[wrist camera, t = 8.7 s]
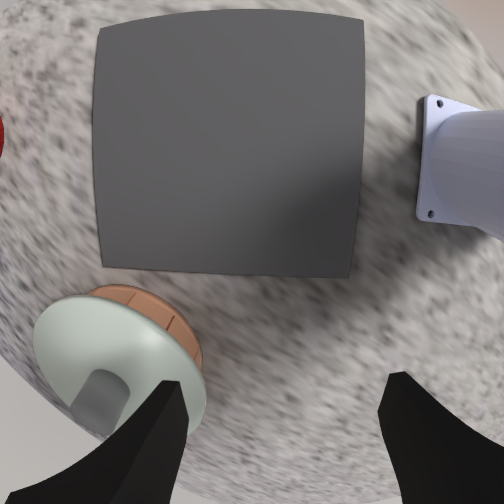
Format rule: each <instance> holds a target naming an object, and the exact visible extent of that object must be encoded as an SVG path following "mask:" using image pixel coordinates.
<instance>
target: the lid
mask: <svg viewBox="0 0 504 504" xmlns="http://www.w3.org/2000/svg"><path fill="white" fill-rule="evenodd" d="M33 348H34V353H35V357H36V360H37V363H38V365H39V368H40V370H41V372H42V374H43V376H44V377H45V379H46V381H47V382H48V384H49V385H50V387H51V388H52V389H53V391H54V392H55V393H56V394H57V395H58V397H59V398H60V399H61V400H62V401H63V402H64V403H65V404H66V405H67V406H68V407H69V408H70V411H71V413H72V415H73V416H74V418H75V419H76V420H77V421H78V422H79V423H80V424H81V425H83V426H84V427H85V428H87V429H89V430H90V431H93V432H95V433H98V434H101V435H110V434H113V433H114V432H115V431H116V430H117V429H118V428H119V427H120V426H121V425H122V424H123V423H124V422H125V421H126V420H127V419H128V418H129V417H130V416H131V415H132V414H133V413H134V412H135V411H136V410H137V409H138V407H139V406H140V405H141V404H142V403H143V402H144V401H145V400H146V398H147V397H148V396H149V395H150V394H151V393H152V391H153V390H154V389H155V388H156V387H157V385H158V384H159V383H160V382H161V381H162V380H170V381H180V385H181V389H182V393H183V397H184V401H185V404H186V408H187V412H188V416H189V425H188V432H187V436H188V435H189V434H191V433H192V432H193V431H194V430H195V429H196V428H197V427H198V426H199V424H200V423H201V421H202V418H203V416H204V412H205V407H206V401H207V393H206V386H205V382H204V379H203V377H202V374H201V372H200V370H199V368H198V366H197V365H196V363H195V361H194V359H193V358H192V357H191V356H190V354H189V353H188V352H187V350H186V349H185V348H184V347H183V346H182V345H181V344H180V343H179V341H178V340H177V339H176V338H175V337H173V336H172V335H171V334H170V333H169V332H168V331H167V330H166V329H164V328H163V327H162V326H160V325H159V324H158V323H156V322H155V321H154V320H152V319H151V318H149V317H147V316H146V315H144V314H142V313H141V312H139V311H137V310H135V309H133V308H131V307H129V306H127V305H125V304H122V303H120V302H117V301H115V300H112V299H108V298H104V297H101V296H94V295H72V296H67V297H64V298H61V299H59V300H57V301H55V302H54V303H52V304H51V305H50V306H49V307H48V308H47V309H46V310H45V311H44V312H43V313H42V314H41V315H40V316H39V318H38V319H37V321H36V324H35V327H34V331H33Z"/></svg>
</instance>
